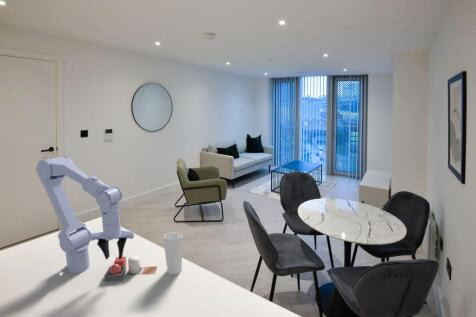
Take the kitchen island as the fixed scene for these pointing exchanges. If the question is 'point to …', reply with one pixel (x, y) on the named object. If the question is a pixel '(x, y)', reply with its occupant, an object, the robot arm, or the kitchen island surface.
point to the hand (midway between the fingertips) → (114, 257)
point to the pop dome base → (115, 275)
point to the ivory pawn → (134, 264)
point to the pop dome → (115, 269)
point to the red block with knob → (120, 261)
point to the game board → (145, 270)
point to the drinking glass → (173, 252)
